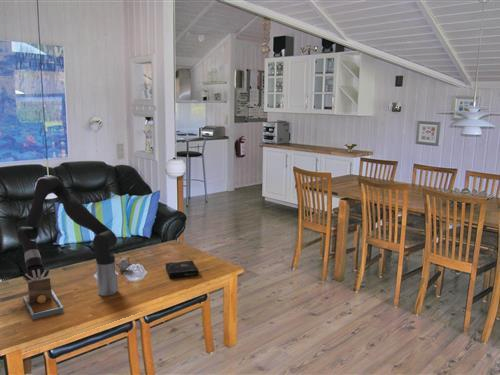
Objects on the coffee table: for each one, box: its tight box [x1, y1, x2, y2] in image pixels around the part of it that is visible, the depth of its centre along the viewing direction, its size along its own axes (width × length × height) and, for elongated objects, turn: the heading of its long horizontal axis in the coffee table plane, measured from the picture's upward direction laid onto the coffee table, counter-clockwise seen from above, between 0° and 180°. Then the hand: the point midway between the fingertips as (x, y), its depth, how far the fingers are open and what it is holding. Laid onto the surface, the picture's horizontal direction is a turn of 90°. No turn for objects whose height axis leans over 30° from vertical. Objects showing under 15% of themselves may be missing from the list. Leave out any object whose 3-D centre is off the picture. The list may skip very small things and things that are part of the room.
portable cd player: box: [165, 260, 199, 280], centre depth 264 cm, size 16×17×4 cm
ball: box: [37, 295, 46, 304], centre depth 222 cm, size 4×4×4 cm
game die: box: [115, 256, 133, 271], centre depth 264 cm, size 9×8×10 cm
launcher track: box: [23, 289, 59, 312], centre depth 224 cm, size 16×14×2 cm
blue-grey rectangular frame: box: [28, 298, 64, 321], centre depth 214 cm, size 11×14×2 cm
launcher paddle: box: [26, 275, 53, 304], centre depth 224 cm, size 3×10×11 cm, turn 124°
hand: (39, 289), depth 226 cm, fingers closed
